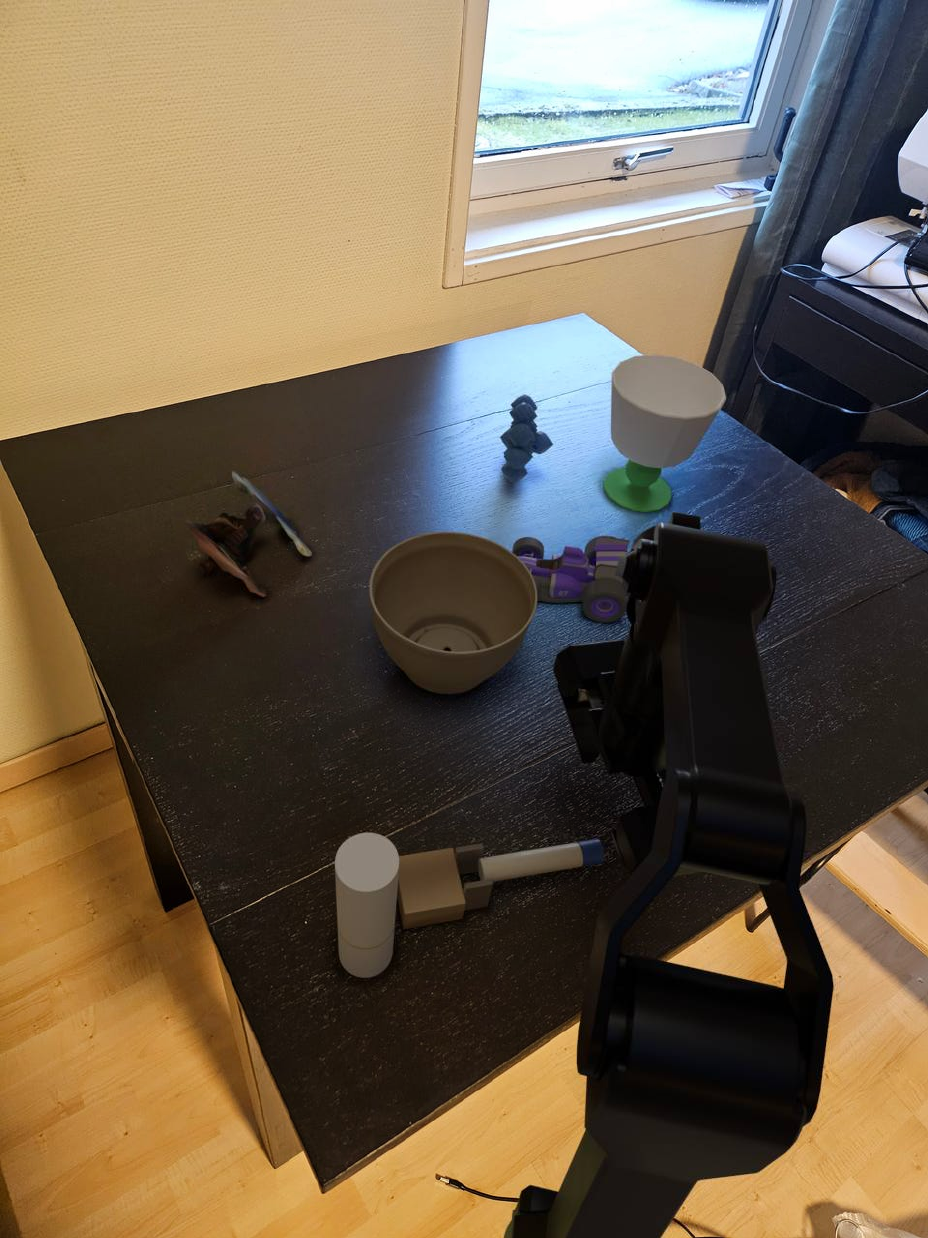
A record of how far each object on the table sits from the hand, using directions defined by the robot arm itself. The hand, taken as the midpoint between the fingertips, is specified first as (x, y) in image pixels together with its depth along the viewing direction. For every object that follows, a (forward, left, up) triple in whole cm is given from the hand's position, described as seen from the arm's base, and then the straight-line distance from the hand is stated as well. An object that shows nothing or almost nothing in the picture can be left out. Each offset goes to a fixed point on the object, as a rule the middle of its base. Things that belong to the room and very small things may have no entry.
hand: (606, 810), depth 67 cm
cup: (+50, -24, -10) cm, 57 cm away
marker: (0, +4, -8) cm, 9 cm away
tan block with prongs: (0, +13, -10) cm, 16 cm away
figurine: (+43, +25, -10) cm, 51 cm away
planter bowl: (+25, +7, -10) cm, 28 cm away
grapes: (+54, -9, -10) cm, 56 cm away
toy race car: (+34, -8, -10) cm, 37 cm away
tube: (-3, +19, -10) cm, 22 cm away
